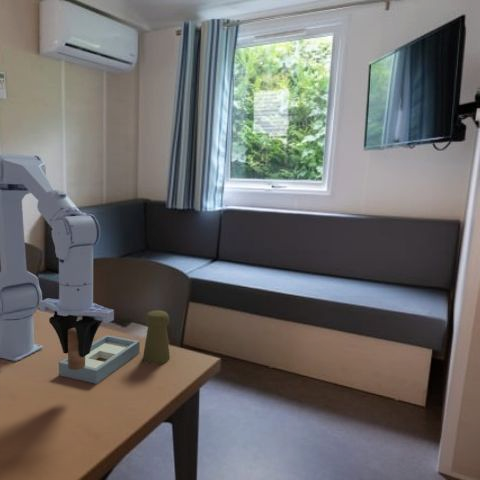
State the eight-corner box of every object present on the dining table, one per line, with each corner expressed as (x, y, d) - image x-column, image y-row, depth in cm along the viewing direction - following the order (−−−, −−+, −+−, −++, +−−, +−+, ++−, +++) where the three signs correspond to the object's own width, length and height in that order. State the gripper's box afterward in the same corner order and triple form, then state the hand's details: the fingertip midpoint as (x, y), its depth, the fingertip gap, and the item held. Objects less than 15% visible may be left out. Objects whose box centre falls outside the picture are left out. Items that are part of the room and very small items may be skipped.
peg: (64, 367, 77) (64, 331, 76) (75, 361, 80) (75, 326, 78) (78, 371, 76) (78, 334, 75) (88, 364, 79) (88, 328, 78)
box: (59, 375, 85) (58, 362, 85) (106, 345, 100) (106, 334, 100) (96, 383, 82) (96, 370, 82) (139, 352, 98) (139, 341, 97)
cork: (164, 365, 92) (165, 318, 90) (138, 362, 93) (139, 314, 91) (173, 354, 98) (175, 309, 96) (149, 351, 99) (150, 306, 97)
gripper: (26, 281, 73) (28, 354, 76) (96, 293, 69) (96, 369, 71) (55, 273, 80) (56, 340, 82) (120, 283, 76) (120, 353, 78)
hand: (76, 353), depth 77 cm, fingers closed on peg, 3 cm apart
